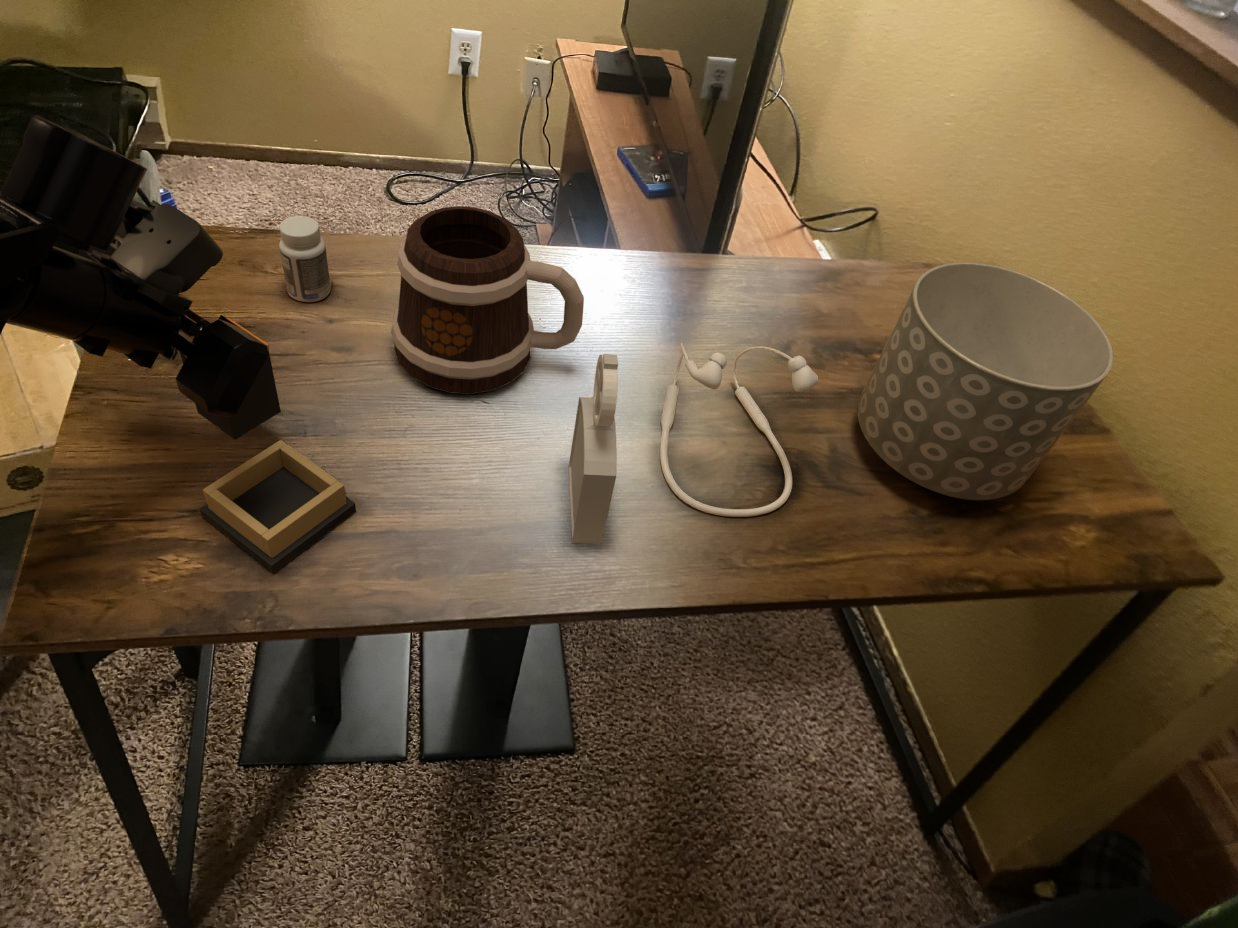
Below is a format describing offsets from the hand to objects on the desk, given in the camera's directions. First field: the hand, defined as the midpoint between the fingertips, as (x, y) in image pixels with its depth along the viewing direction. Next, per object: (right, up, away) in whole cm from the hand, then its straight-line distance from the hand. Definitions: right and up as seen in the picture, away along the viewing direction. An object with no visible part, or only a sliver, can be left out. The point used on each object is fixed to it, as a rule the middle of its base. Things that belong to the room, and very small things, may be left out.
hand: (240, 349), depth 72 cm
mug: (+18, +2, +20) cm, 27 cm away
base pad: (+3, -14, +1) cm, 15 cm away
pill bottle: (-2, +10, +23) cm, 25 cm away
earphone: (+43, -8, +16) cm, 47 cm away
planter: (+67, -9, +20) cm, 71 cm away
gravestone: (+29, -14, +7) cm, 33 cm away
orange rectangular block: (-2, -5, +4) cm, 7 cm away
